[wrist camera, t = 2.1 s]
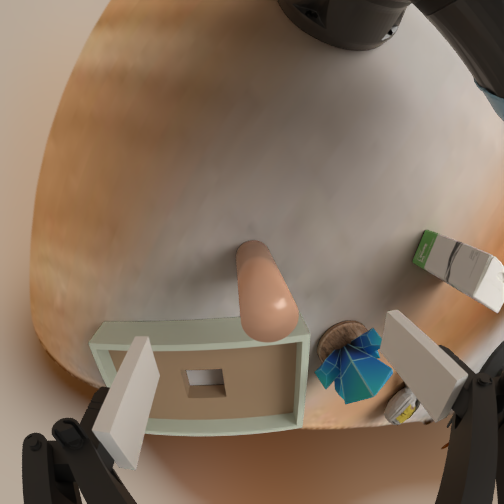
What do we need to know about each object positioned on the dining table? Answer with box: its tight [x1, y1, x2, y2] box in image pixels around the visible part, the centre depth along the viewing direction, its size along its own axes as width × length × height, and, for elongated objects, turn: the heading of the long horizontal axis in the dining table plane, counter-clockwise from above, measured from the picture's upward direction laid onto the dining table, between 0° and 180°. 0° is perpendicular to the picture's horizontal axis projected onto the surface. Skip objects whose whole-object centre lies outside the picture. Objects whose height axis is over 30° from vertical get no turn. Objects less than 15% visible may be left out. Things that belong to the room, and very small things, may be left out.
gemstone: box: [314, 321, 393, 404], centre depth 28 cm, size 7×9×12 cm
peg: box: [236, 240, 299, 343], centre depth 23 cm, size 4×4×13 cm
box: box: [88, 312, 310, 436], centre depth 30 cm, size 16×24×5 cm, turn 93°
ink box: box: [413, 230, 504, 313], centre depth 25 cm, size 9×5×12 cm, turn 67°
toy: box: [384, 384, 420, 425], centre depth 36 cm, size 12×5×15 cm
